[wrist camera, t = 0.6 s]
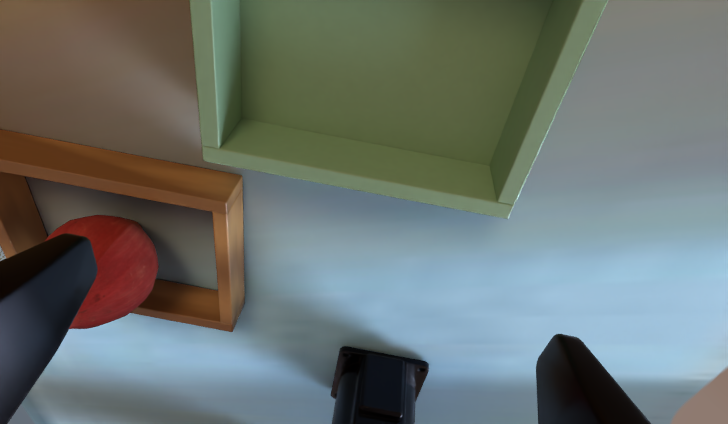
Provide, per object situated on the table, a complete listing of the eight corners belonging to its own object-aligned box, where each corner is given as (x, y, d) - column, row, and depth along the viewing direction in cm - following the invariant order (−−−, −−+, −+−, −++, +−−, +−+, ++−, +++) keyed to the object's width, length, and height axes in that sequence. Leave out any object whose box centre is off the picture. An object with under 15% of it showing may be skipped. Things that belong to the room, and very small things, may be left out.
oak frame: (245, 302, 31) (232, 332, 29) (48, 265, 31) (22, 293, 29) (242, 175, 24) (226, 202, 22) (-8, 127, 24) (-47, 150, 22)
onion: (187, 266, 29) (122, 377, 23) (101, 253, 29) (12, 360, 23) (171, 193, 26) (88, 301, 19) (73, 179, 26) (-42, 282, 19)
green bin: (498, 176, 22) (508, 220, 20) (230, 124, 22) (202, 161, 20) (613, -105, 15) (653, -98, 13) (218, -182, 15) (172, -191, 12)
